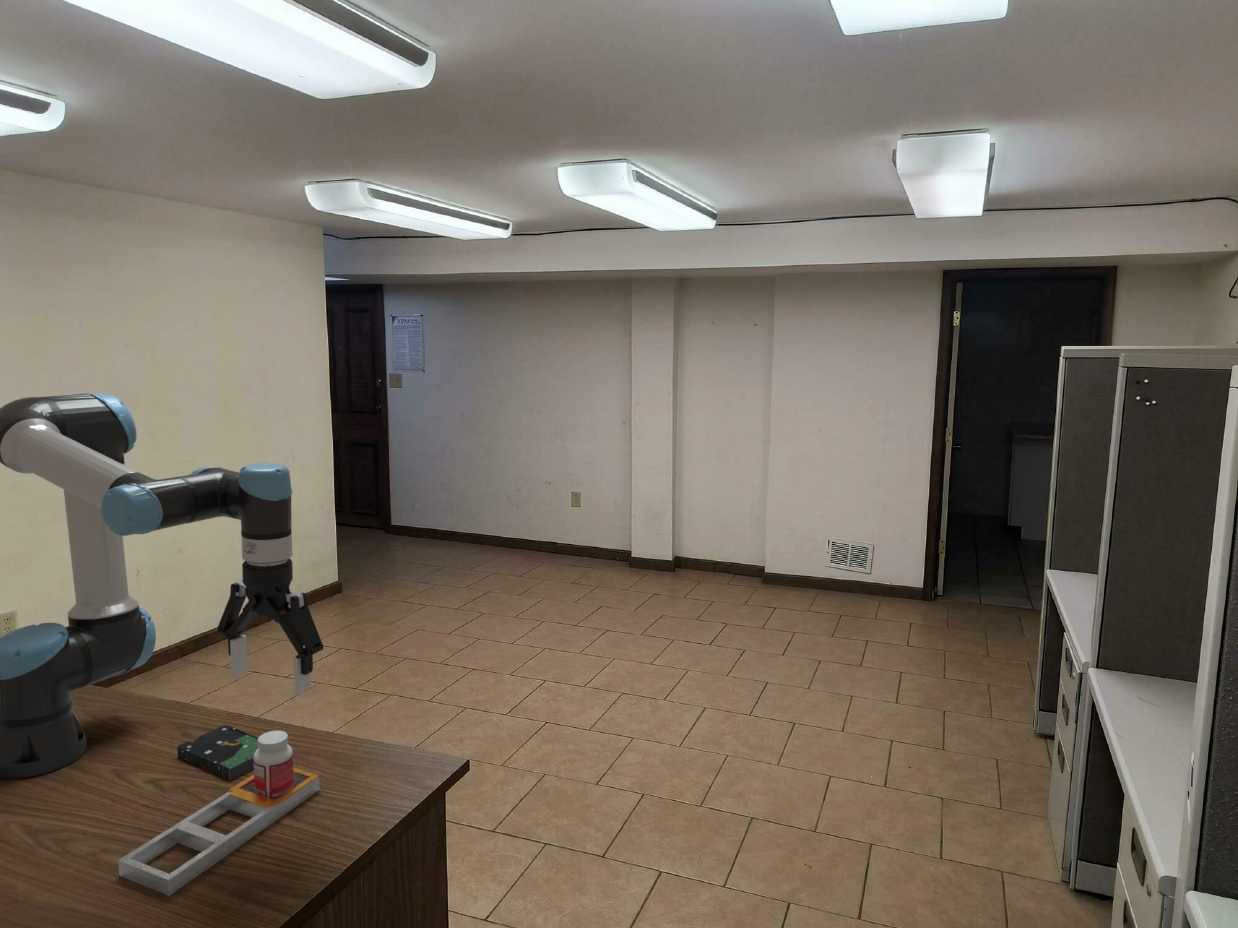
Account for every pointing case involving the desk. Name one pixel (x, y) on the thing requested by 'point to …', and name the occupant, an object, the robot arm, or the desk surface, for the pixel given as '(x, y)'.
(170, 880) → the socket rail
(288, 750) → the pill bottle
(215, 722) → the desk surface
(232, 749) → the disk drive
